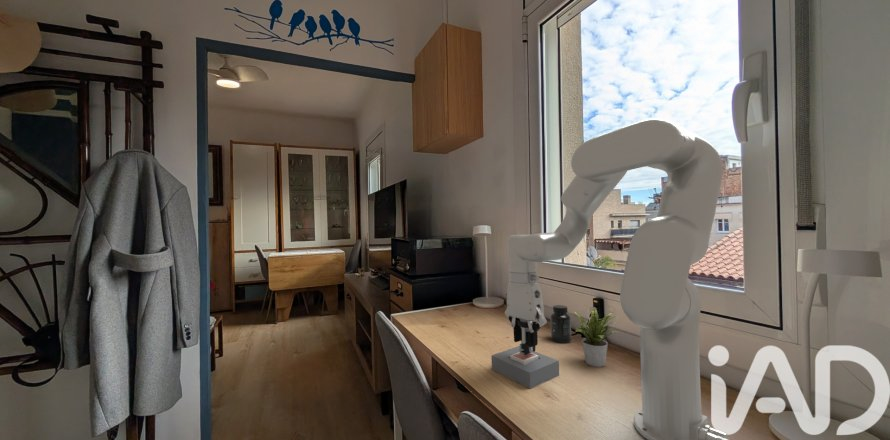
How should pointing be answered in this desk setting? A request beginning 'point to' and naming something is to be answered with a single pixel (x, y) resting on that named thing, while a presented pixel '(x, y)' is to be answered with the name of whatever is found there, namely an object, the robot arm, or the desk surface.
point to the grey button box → (525, 368)
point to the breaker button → (524, 358)
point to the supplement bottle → (560, 325)
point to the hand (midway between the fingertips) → (525, 342)
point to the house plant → (595, 338)
